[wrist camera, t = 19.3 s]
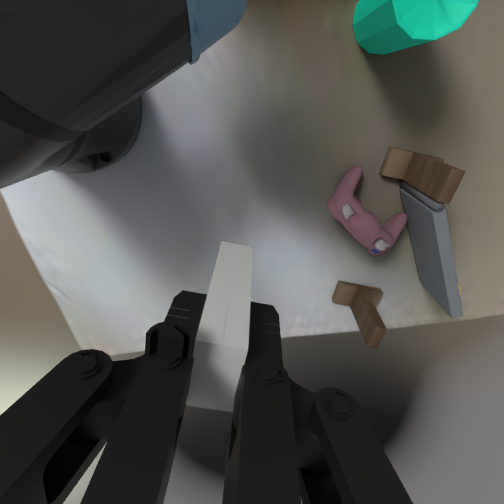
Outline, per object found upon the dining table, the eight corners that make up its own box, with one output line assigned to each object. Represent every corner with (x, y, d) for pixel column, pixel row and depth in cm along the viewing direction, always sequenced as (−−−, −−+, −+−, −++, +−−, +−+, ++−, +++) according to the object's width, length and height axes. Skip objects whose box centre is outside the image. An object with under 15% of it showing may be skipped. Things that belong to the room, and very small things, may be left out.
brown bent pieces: (331, 298, 45) (347, 343, 37) (389, 146, 36) (426, 163, 28) (372, 305, 46) (396, 352, 37) (439, 157, 36) (491, 177, 28)
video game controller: (327, 180, 39) (316, 216, 35) (358, 158, 36) (350, 194, 31) (378, 230, 42) (374, 269, 38) (411, 214, 39) (411, 255, 34)
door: (419, 279, 43) (452, 320, 35) (397, 181, 37) (431, 204, 30) (437, 273, 43) (475, 313, 35) (418, 173, 37) (459, 195, 29)
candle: (428, 22, 31) (518, -15, 20) (373, 69, 32) (428, 59, 22) (396, -40, 29) (478, -117, 18) (340, 14, 30) (383, -27, 20)
